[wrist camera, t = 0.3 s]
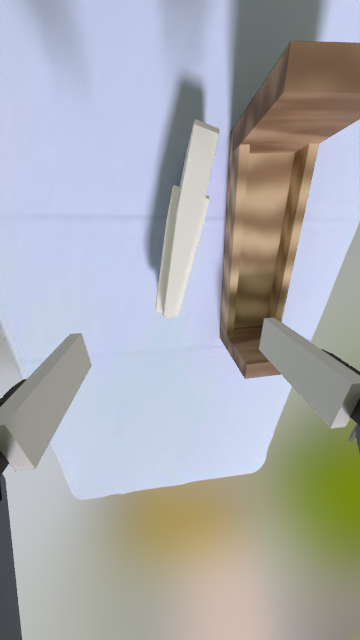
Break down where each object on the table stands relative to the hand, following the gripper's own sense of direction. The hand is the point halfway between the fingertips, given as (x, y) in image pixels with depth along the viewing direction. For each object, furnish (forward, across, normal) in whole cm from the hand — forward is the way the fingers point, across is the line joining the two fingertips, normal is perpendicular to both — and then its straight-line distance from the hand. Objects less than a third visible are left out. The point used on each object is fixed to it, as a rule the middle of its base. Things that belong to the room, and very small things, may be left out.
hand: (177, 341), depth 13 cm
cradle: (+25, +18, +3) cm, 31 cm away
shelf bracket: (+25, +3, +7) cm, 26 cm away
